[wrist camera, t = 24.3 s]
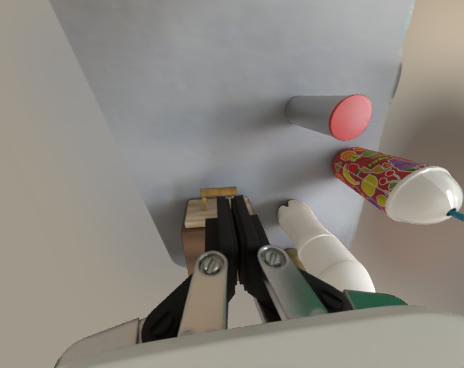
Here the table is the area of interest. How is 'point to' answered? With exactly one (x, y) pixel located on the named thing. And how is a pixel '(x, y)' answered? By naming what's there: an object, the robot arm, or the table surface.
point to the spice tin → (331, 114)
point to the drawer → (208, 206)
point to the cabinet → (194, 244)
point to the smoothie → (400, 186)
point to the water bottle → (322, 250)
